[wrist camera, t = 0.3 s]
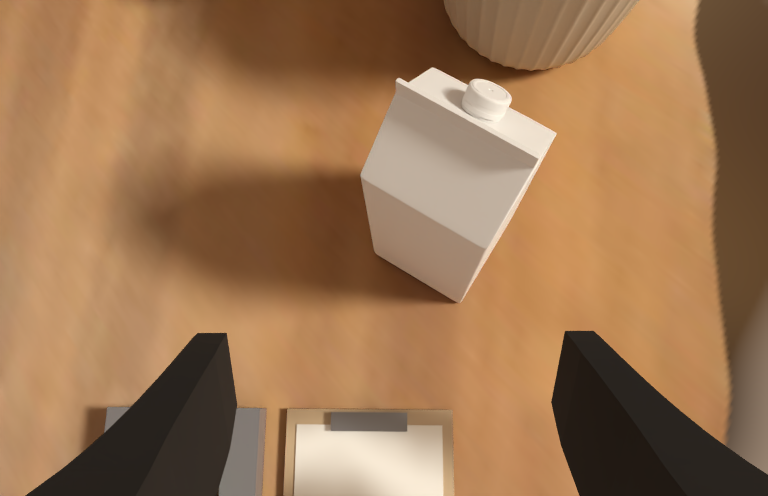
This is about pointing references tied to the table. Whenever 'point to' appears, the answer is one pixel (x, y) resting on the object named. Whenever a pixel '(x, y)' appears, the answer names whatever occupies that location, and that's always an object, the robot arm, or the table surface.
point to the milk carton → (448, 177)
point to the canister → (536, 28)
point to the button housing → (234, 451)
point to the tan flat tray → (369, 452)
